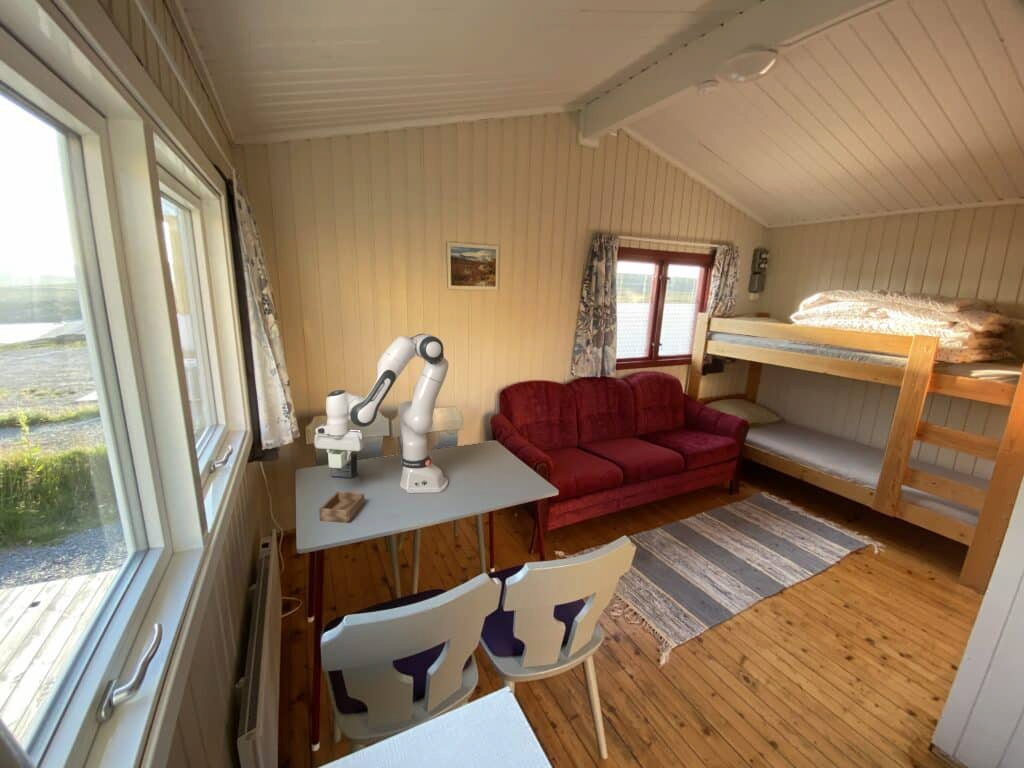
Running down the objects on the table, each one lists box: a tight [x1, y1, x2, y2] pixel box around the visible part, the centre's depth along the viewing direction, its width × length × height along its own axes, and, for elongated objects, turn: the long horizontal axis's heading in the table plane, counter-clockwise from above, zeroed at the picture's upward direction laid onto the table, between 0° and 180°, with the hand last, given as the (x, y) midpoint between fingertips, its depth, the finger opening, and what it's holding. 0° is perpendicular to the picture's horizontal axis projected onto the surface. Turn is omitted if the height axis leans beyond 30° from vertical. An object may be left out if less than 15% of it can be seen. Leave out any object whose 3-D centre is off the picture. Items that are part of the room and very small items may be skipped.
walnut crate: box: [318, 491, 365, 524], centre depth 176 cm, size 12×15×5 cm
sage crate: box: [327, 449, 351, 469], centre depth 185 cm, size 6×9×6 cm, turn 176°
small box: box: [331, 453, 358, 479], centre depth 208 cm, size 11×6×10 cm, turn 84°
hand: (339, 458), depth 185 cm, fingers closed on sage crate, 5 cm apart
